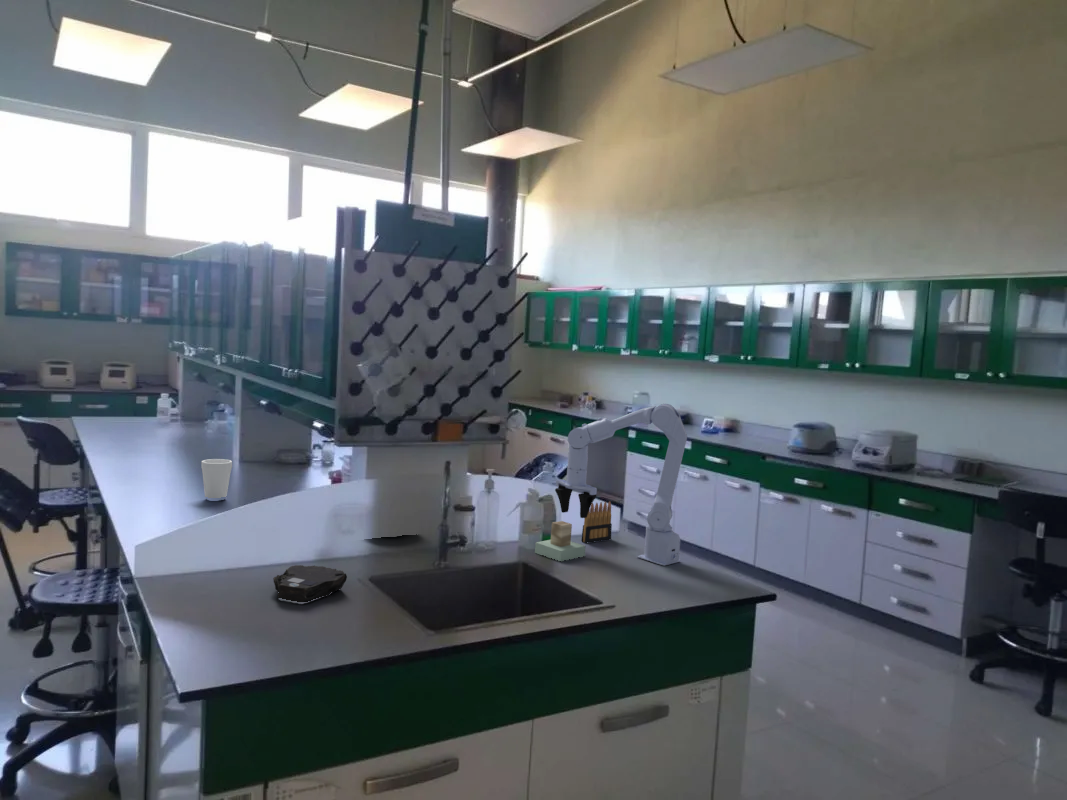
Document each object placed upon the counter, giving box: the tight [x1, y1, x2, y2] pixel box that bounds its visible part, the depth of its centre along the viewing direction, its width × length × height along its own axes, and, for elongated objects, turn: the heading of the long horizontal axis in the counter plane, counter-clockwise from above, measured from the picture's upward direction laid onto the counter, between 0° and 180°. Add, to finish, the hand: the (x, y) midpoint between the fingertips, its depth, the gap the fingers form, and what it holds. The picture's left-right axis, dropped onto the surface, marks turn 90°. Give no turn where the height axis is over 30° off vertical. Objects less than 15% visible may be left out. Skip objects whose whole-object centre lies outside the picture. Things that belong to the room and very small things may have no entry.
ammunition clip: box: [581, 500, 613, 544], centre depth 233 cm, size 11×2×12 cm, turn 127°
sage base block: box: [534, 539, 586, 562], centre depth 215 cm, size 10×10×3 cm
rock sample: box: [272, 564, 348, 602], centre depth 171 cm, size 18×16×5 cm
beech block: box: [550, 520, 573, 547], centre depth 215 cm, size 4×4×6 cm
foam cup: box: [200, 458, 233, 498], centre depth 255 cm, size 10×9×13 cm
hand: (574, 514), depth 222 cm, fingers open, 7 cm apart
